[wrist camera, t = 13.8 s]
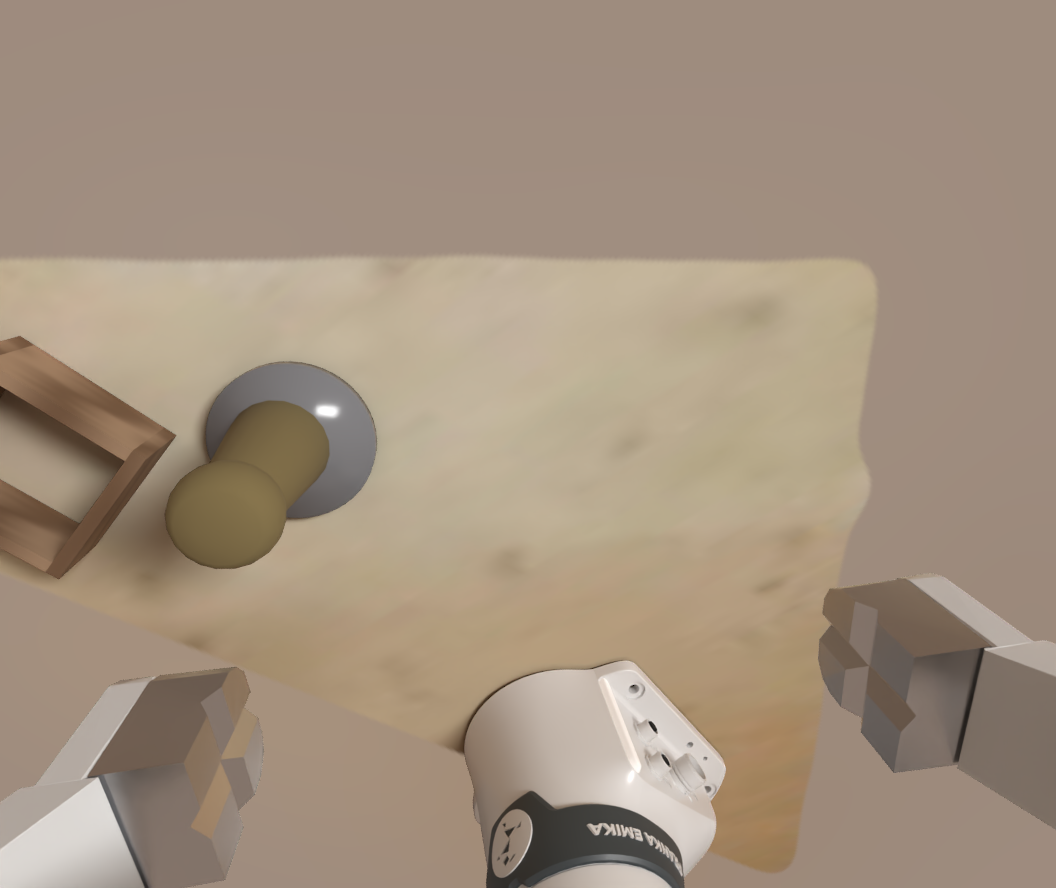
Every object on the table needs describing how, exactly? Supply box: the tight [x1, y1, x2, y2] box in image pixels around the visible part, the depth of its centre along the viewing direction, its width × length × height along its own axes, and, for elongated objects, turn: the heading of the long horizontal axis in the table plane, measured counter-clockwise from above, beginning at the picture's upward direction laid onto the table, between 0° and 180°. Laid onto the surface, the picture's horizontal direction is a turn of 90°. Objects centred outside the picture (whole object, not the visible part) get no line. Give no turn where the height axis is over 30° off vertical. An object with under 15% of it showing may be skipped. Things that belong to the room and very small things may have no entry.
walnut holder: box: [0, 336, 176, 579], centre depth 36 cm, size 10×10×4 cm
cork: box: [165, 400, 330, 569], centre depth 33 cm, size 6×6×11 cm
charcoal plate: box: [206, 362, 377, 518], centre depth 38 cm, size 10×10×1 cm
